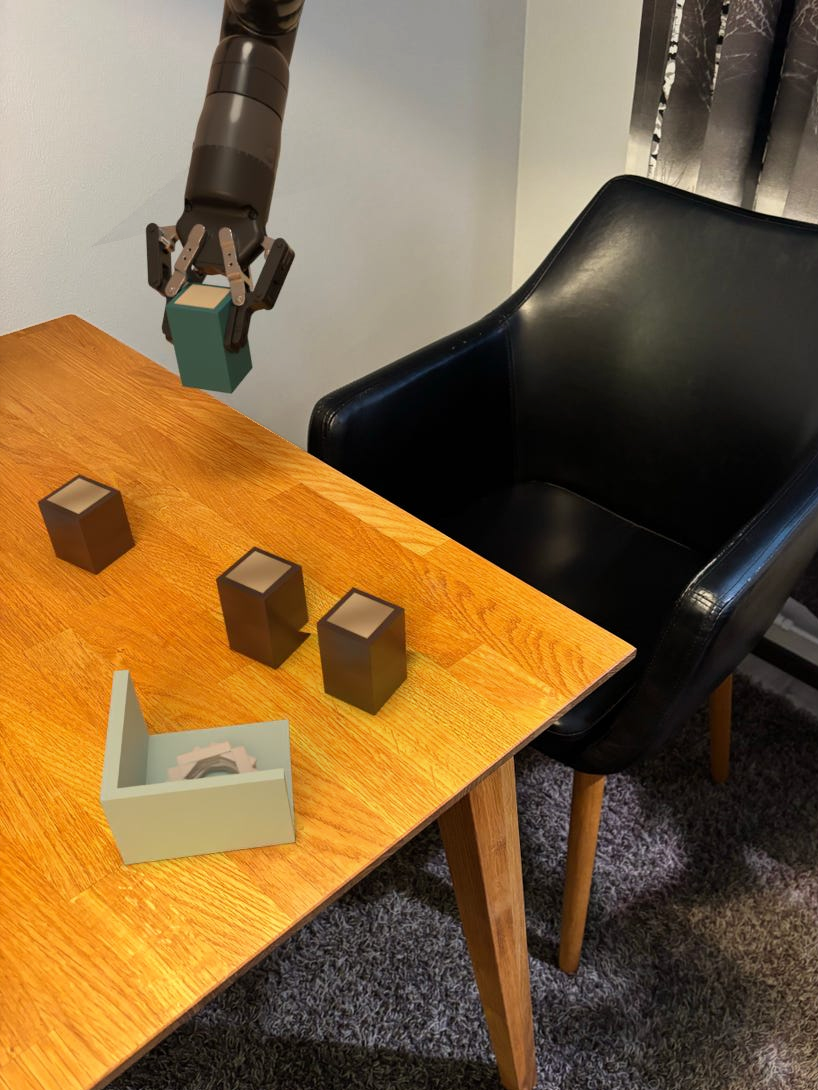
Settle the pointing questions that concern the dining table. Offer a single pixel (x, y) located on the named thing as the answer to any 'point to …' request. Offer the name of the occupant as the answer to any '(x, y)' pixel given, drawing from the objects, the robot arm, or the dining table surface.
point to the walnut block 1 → (87, 523)
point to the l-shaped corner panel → (193, 785)
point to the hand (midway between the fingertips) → (201, 346)
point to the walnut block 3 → (363, 650)
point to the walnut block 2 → (264, 606)
